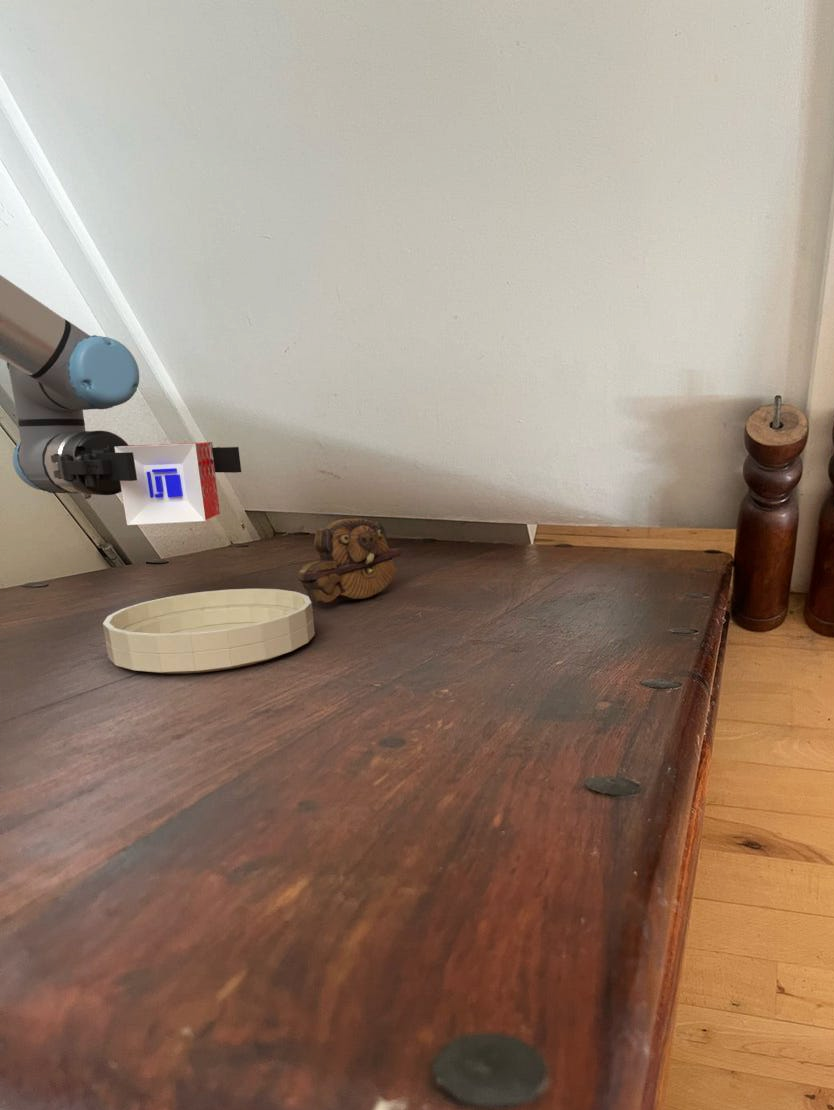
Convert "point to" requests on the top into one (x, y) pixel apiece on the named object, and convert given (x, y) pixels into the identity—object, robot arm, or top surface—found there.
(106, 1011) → the top surface
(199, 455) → the red boxy piece
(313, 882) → the top surface
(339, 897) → the top surface
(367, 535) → the wooden carving
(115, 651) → the bowl
